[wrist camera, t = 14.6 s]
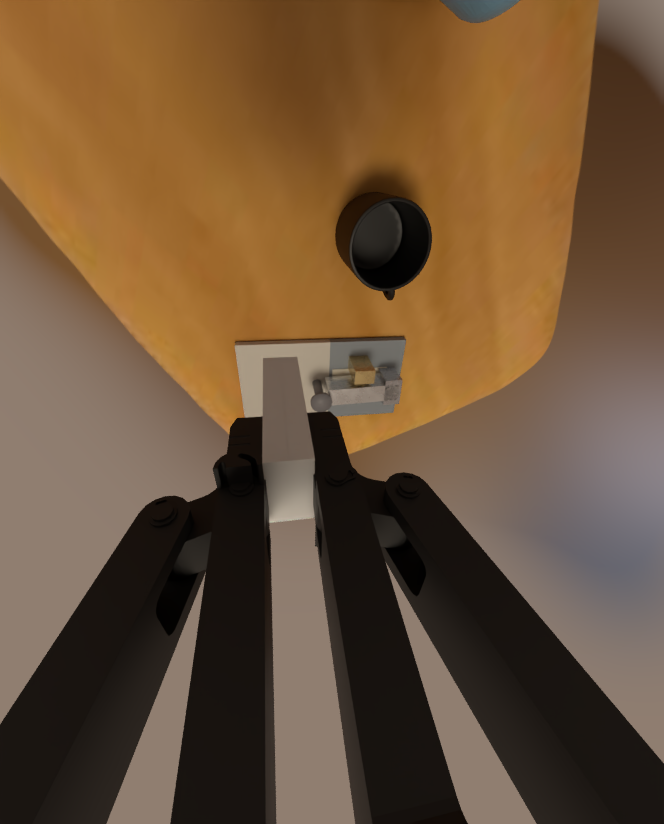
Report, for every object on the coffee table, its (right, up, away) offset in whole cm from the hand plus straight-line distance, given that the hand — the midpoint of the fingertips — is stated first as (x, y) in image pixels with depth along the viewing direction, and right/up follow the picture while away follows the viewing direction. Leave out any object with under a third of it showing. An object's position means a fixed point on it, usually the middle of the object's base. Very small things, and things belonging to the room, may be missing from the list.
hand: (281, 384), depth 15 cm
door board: (+1, +4, +40) cm, 40 cm away
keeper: (+6, +7, +38) cm, 39 cm away
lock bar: (+7, +4, +39) cm, 40 cm away
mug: (+8, +21, +30) cm, 37 cm away
